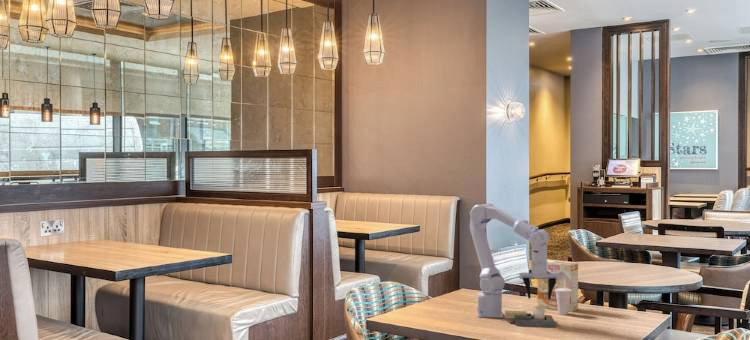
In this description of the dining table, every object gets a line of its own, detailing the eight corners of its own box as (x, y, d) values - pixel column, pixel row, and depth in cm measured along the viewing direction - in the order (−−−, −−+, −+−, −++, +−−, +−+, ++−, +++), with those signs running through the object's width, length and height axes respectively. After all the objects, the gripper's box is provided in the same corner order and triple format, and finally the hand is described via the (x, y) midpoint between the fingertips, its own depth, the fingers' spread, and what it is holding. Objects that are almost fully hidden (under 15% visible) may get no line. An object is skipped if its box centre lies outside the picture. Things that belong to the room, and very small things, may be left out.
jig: (515, 325, 240) (515, 317, 240) (513, 319, 250) (513, 311, 250) (554, 327, 238) (554, 318, 238) (551, 320, 248) (551, 312, 248)
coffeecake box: (537, 307, 271) (537, 260, 271) (544, 304, 277) (544, 258, 276) (571, 312, 262) (571, 264, 261) (578, 309, 267) (578, 262, 267)
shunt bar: (505, 317, 244) (505, 312, 244) (504, 315, 247) (504, 310, 247) (527, 318, 243) (527, 313, 243) (526, 316, 246) (526, 311, 246)
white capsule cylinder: (533, 324, 243) (533, 308, 243) (533, 321, 247) (533, 305, 246) (544, 324, 242) (544, 308, 242) (544, 322, 246) (544, 306, 246)
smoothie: (572, 316, 255) (572, 280, 255) (555, 315, 257) (555, 279, 256) (570, 312, 262) (571, 277, 261) (554, 311, 263) (554, 277, 263)
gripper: (520, 263, 241) (520, 299, 241) (560, 264, 239) (560, 301, 239) (518, 260, 248) (518, 296, 248) (558, 261, 246) (558, 297, 246)
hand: (539, 298), depth 244 cm, fingers open, 7 cm apart
